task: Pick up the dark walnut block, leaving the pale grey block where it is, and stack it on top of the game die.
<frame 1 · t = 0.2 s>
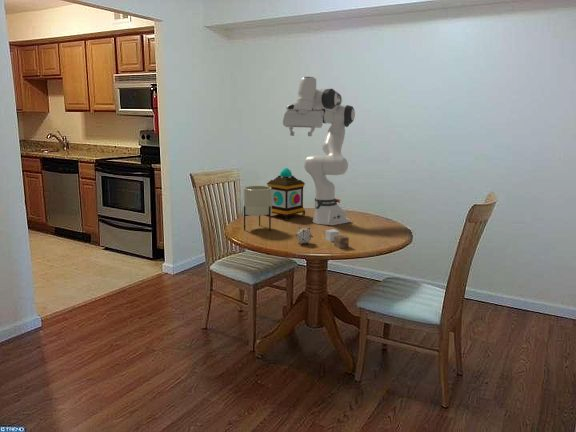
hand: (300, 135, 229), 52 cm above the table, tool tilted 20°, fingers open, 8 cm apart
decorative lantern: (285, 216, 289), on the table
walnut block: (341, 246, 224), on the table
grey block: (332, 240, 235), on the table
game die: (304, 244, 229), on the table
planter: (257, 229, 257), on the table
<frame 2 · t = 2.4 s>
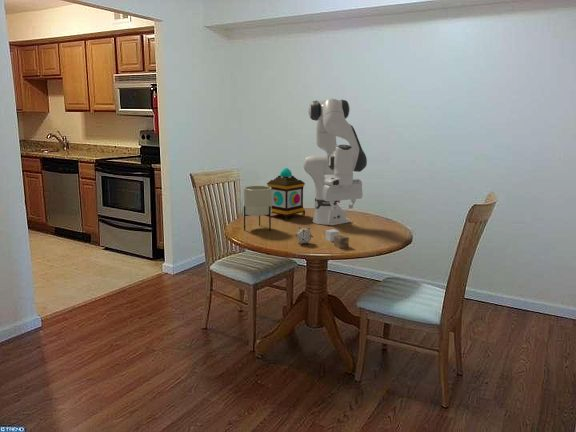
hand: (342, 209, 220), 18 cm above the table, tool pointing down, fingers open, 8 cm apart
nothing on the table moved.
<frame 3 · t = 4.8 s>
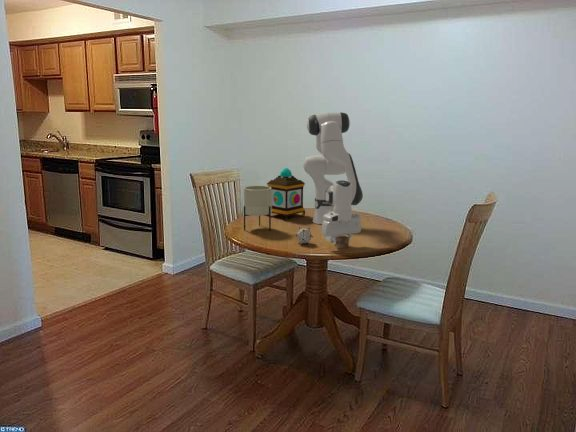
hand: (341, 243, 224), 2 cm above the table, tool pointing down, fingers closed on walnut block, 5 cm apart
walnut block: (341, 246, 224), on the table, touching gripper
everything else where it was.
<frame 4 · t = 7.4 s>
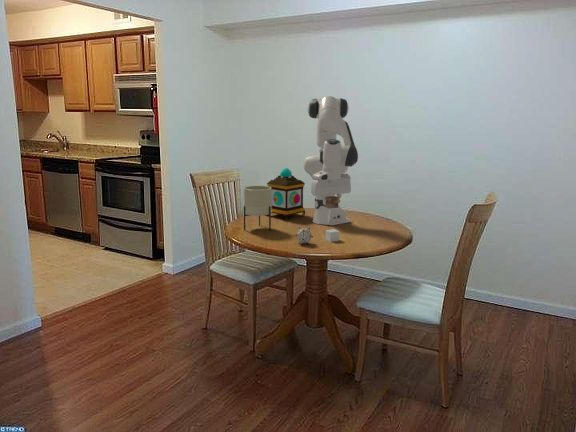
hand: (331, 203, 221), 21 cm above the table, tool pointing down, fingers closed on walnut block, 5 cm apart
walnut block: (331, 207, 221), point 19 cm above the table, touching gripper
everything else where it was.
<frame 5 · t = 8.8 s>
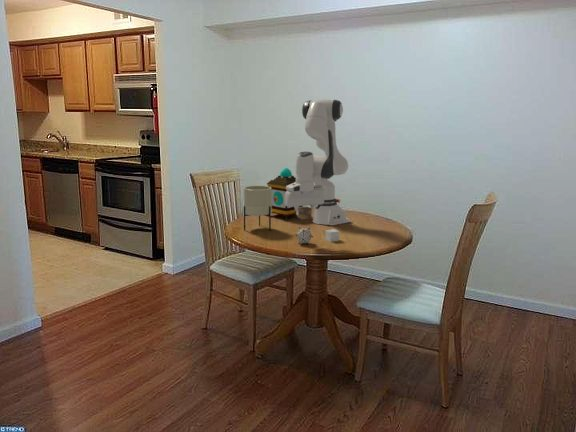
hand: (304, 214, 225), 15 cm above the table, tool pointing down, fingers closed on walnut block, 5 cm apart
walnut block: (304, 217, 226), point 13 cm above the table, touching gripper
everything else where it was.
when the fingers open (11 cm above the table, at t = 9.9 s): walnut block drops 2 cm, resting on game die.
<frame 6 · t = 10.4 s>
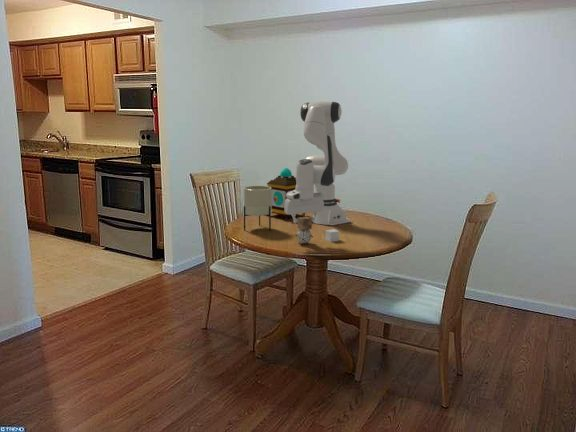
hand: (304, 221, 226), 11 cm above the table, tool pointing down, fingers open, 8 cm apart
walnut block: (304, 228, 227), point 8 cm above the table, touching game die
game die: (304, 244, 229), on the table, touching walnut block
everything else where it was.
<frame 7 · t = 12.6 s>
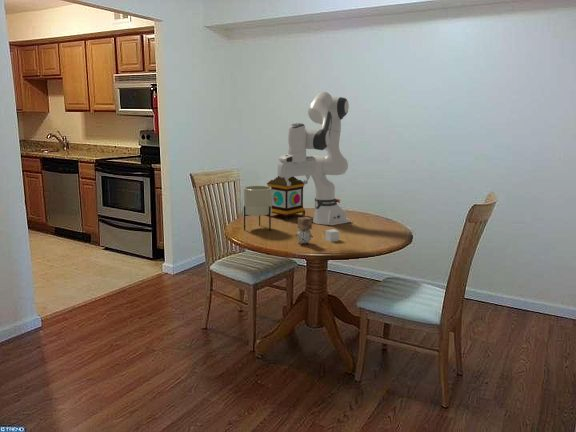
hand: (297, 184, 233), 28 cm above the table, tool pointing down, fingers open, 8 cm apart
nothing on the table moved.
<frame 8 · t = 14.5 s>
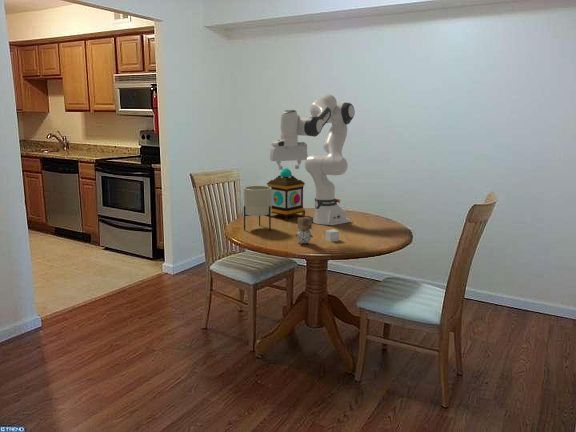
hand: (288, 169, 241), 34 cm above the table, tool pointing down, fingers open, 8 cm apart
nothing on the table moved.
at the end: walnut block 0.2 cm from the game die (horizontally); walnut block point 7.8 cm above the table; the gripper is holding nothing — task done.
